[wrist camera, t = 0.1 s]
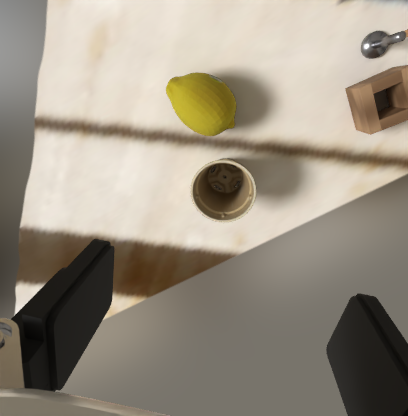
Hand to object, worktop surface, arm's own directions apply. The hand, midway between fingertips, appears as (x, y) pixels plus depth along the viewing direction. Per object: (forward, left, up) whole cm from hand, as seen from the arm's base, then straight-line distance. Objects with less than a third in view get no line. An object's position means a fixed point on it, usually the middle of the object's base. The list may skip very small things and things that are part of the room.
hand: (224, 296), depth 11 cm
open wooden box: (+3, +21, -37) cm, 43 cm away
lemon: (-7, -2, -37) cm, 38 cm away
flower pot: (+5, -4, -37) cm, 38 cm away
